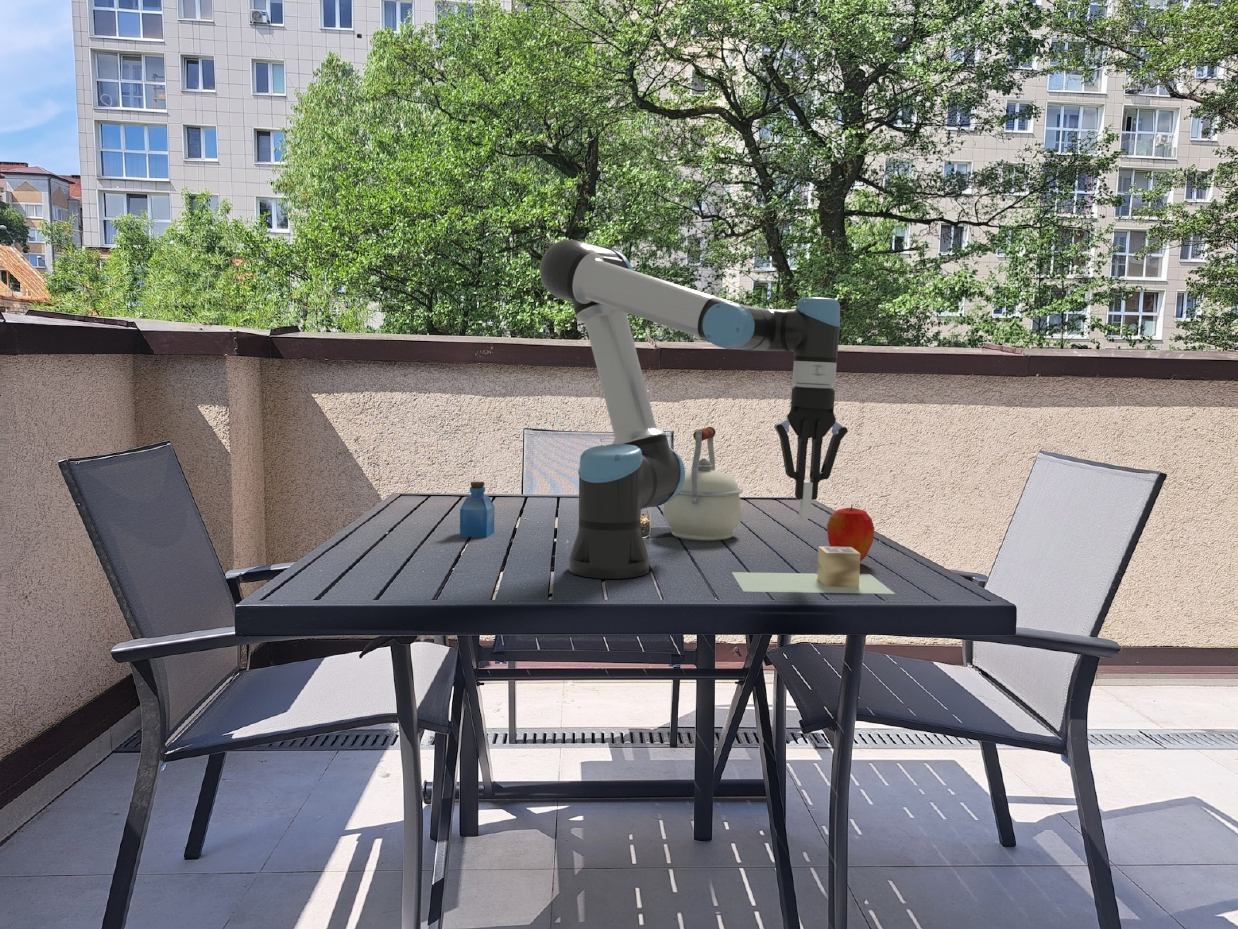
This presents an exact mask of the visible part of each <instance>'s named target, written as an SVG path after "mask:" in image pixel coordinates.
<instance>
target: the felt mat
mask: <svg viewBox="0 0 1238 929" xmlns="http://www.w3.org/2000/svg"><path fill="white" fill-rule="evenodd" d="M731 573H732V575H733V577H734V578H735V580H736V582H737V583H738V585H739V587H740V588H741V590H742V592H745V593H748V592H749V593H750V592H754V593H755V592H756V593H759V592H760V593H762V592H763V593H815V594H817V593H819V594H820V593H821V594H822V593H823V594H826V593H827V594H837V593H838V594H840V593H841V594H876V595H878V594H884V595H887V594H888V595H889V594H890V595H895V594H896V593H895V592H894V591H892V590H891V589H890V588H889V587H887V586H886V585H885V584H884V583H883V582H881V581H879V580H878V579H877V577H874V576H873V575H872V574H869V573H866V574H865V573H860V575H859V587H825V586H824V585H823V584H822V583H821V582H820V581H819V580H818V579H817V573H806V572H805V573H803V572H800V573H799V572H798V573H797V572H747V571H746V572H741V571H739V572H737V571H736V572H735V571H732V572H731Z"/></svg>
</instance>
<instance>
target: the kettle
mask: <svg viewBox="0 0 1238 929" xmlns="http://www.w3.org/2000/svg"><path fill="white" fill-rule="evenodd" d="M716 434H717V433H716V429H715V428H714V427H713V426H707V427H705V428H701V429H697V430H695V431H694V432H693V439H694V441H695V444H694V445H695V446H694V452H693V453H694V454H693V458H692V465H691V470H685V480H684V484H683V486H682V488H681V490H680V492H679V493H678V495H677V496H676V497H675V498H673V499H672V500H670V501H669V502H666V503H664V504H663V506H662V515H663V518H664V521H665V523H667V525H668V526H669V527H670V529H672V530H671V534H672V535H673V536H674V537H676V538H679V539H684V540H690V541H702V542H703V541H724V540H729V539H730V538H732V537H733V536H734V533H733V531H734V530H735V529H736V528H737V527H738V526H739V524H740V523H741V521H742V518H743V515H744V514H743V509H744V508H743V504H742V501H741V497H740V494H741V493H743V492H742V488H739V486H738V483H737V481H736V480H735V479H734V478H733V477H732V476H731V475H729V474H727V473H725V472H723V471H719V470H716V457H715V449H714V448H715V447H714V437H715V435H716ZM706 440H707V442H706V443H707V452H708V459H706V458H701V453H702V444H703V443H702V442H703V441H706Z"/></svg>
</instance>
